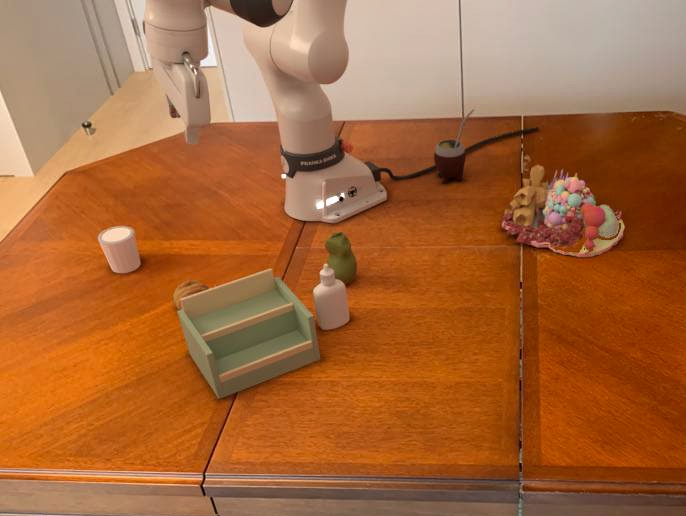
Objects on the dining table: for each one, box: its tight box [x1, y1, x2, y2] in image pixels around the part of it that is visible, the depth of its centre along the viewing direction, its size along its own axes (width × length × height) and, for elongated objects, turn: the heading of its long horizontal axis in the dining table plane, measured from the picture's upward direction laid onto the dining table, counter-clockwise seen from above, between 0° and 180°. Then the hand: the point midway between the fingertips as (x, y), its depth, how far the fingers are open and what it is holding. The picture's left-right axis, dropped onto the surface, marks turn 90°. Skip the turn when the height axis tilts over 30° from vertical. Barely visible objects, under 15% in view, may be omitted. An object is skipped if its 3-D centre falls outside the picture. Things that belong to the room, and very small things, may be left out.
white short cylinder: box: [97, 225, 142, 274], centre depth 157 cm, size 7×7×7 cm
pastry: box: [172, 279, 210, 311], centre depth 146 cm, size 9×7×4 cm
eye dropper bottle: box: [312, 263, 351, 331], centre depth 139 cm, size 4×6×12 cm
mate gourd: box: [433, 108, 475, 185], centre depth 178 cm, size 8×8×15 cm
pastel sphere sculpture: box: [501, 164, 626, 258], centre depth 162 cm, size 25×24×9 cm
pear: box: [324, 231, 358, 285], centre depth 149 cm, size 6×5×10 cm
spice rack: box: [176, 267, 321, 400], centre depth 132 cm, size 18×14×11 cm
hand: (183, 129), depth 129 cm, fingers open, 8 cm apart
